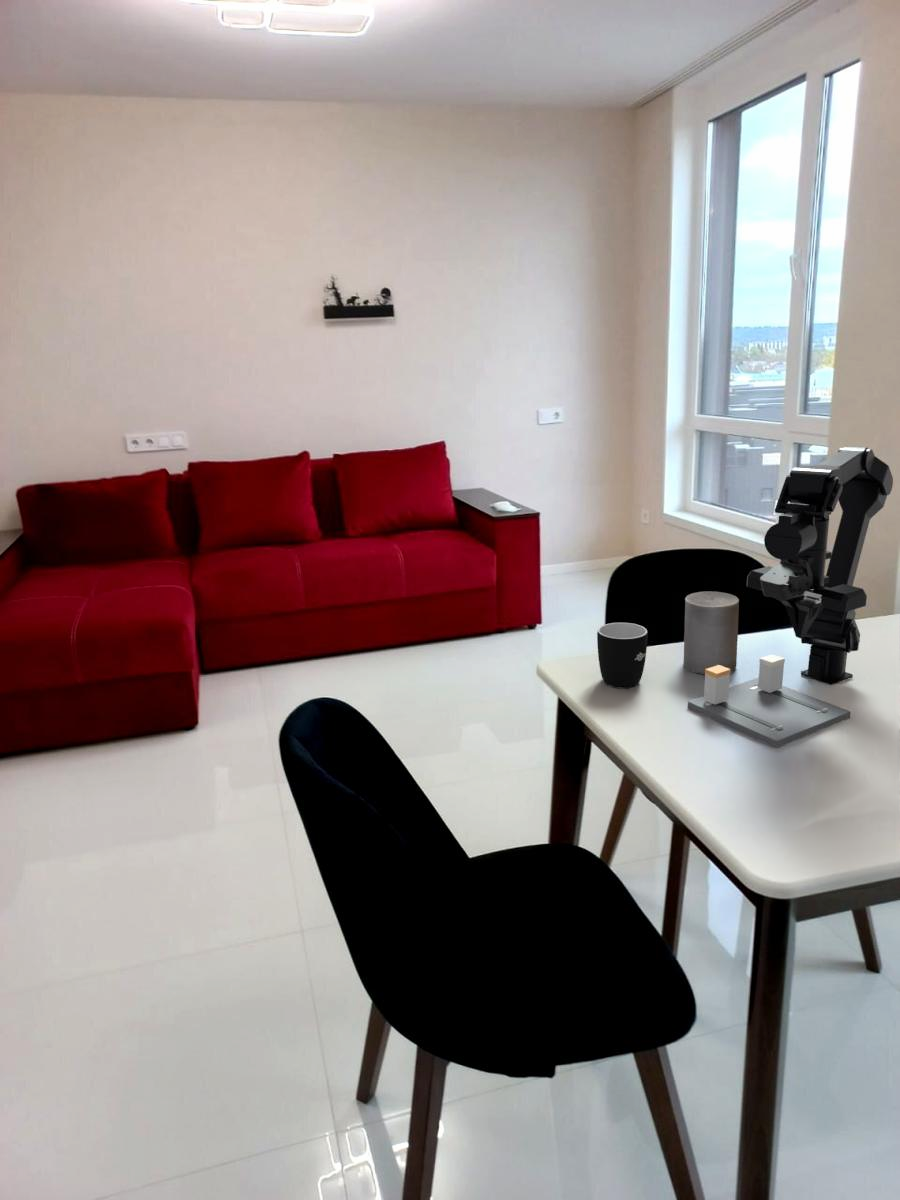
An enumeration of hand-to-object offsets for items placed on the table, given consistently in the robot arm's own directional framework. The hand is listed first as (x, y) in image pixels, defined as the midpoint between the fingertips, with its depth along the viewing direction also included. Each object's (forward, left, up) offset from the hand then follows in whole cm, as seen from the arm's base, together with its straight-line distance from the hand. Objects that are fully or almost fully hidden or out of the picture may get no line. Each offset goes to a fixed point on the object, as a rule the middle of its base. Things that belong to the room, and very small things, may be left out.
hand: (799, 637), depth 136 cm
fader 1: (+12, -6, -10) cm, 17 cm away
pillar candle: (-1, -20, -12) cm, 23 cm away
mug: (+16, -25, -12) cm, 32 cm away
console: (+7, 0, -12) cm, 14 cm away
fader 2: (+1, -4, -10) cm, 11 cm away
